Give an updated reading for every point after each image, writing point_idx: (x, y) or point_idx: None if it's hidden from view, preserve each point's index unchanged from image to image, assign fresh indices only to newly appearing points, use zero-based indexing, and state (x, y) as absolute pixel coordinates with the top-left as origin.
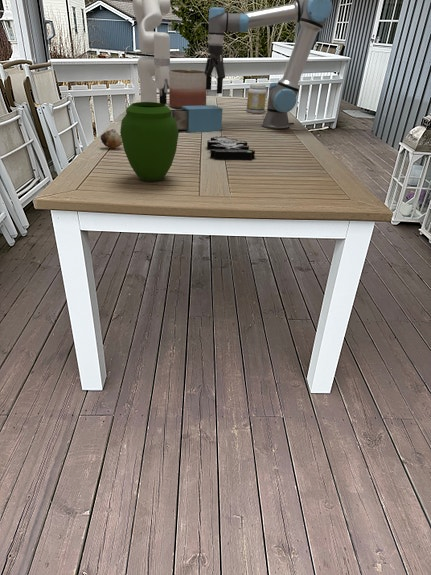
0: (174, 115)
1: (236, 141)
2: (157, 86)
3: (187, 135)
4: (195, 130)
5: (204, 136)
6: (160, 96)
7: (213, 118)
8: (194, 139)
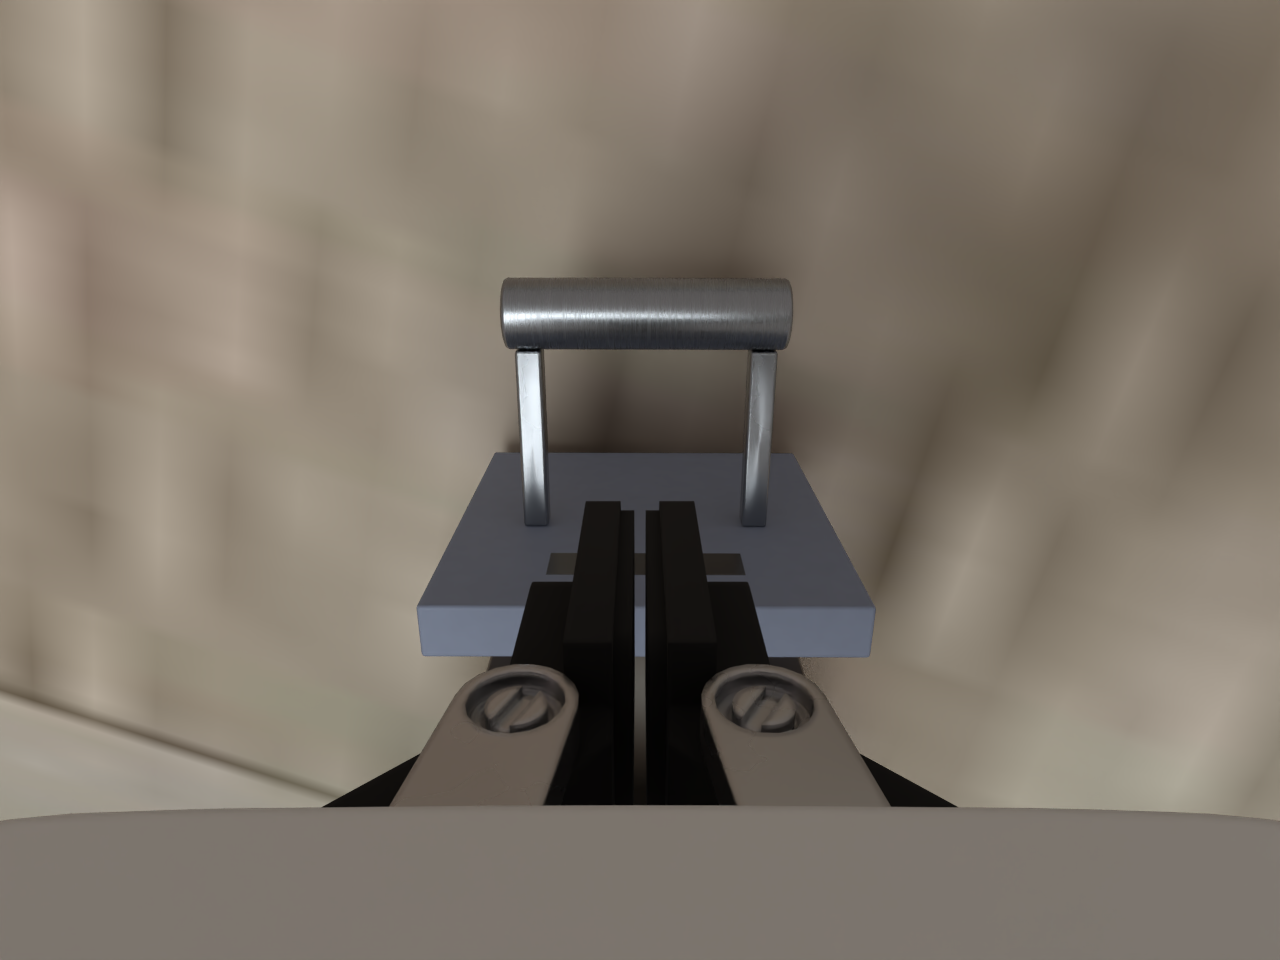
0: (491, 662)
1: None
2: (583, 900)
3: (307, 621)
4: None
5: (230, 795)
6: (569, 626)
7: None
8: (46, 624)
